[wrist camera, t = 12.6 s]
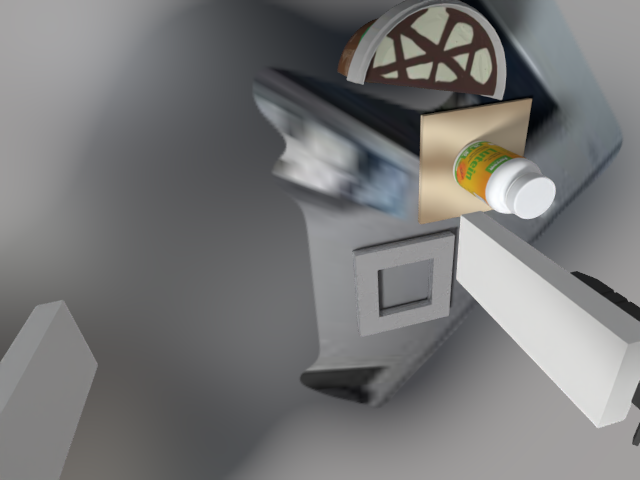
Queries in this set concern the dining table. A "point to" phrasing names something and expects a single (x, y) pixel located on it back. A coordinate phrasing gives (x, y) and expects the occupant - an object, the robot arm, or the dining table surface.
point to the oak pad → (449, 139)
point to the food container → (428, 49)
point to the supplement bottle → (503, 179)
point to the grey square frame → (397, 254)
